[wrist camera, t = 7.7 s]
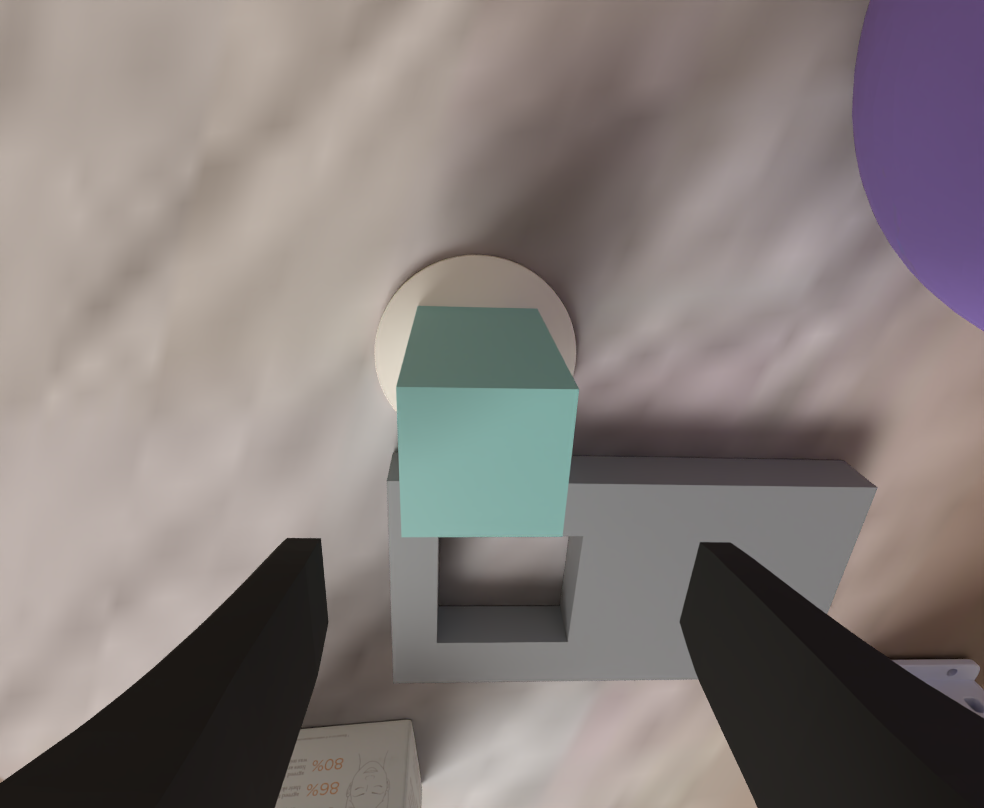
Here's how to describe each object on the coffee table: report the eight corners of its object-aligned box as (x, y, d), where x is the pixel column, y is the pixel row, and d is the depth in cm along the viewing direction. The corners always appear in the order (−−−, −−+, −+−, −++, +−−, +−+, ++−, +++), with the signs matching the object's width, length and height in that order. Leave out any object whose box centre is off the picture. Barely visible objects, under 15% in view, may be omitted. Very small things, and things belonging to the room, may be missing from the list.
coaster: (585, 259, 18) (587, 261, 18) (563, 444, 21) (565, 449, 21) (372, 249, 18) (370, 251, 17) (379, 440, 21) (377, 445, 20)
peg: (537, 308, 18) (579, 389, 12) (529, 415, 20) (562, 536, 14) (417, 305, 18) (396, 386, 12) (419, 414, 20) (401, 537, 14)
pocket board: (843, 460, 22) (877, 487, 20) (777, 641, 26) (801, 678, 24) (393, 452, 21) (386, 481, 19) (398, 644, 25) (393, 683, 23)
